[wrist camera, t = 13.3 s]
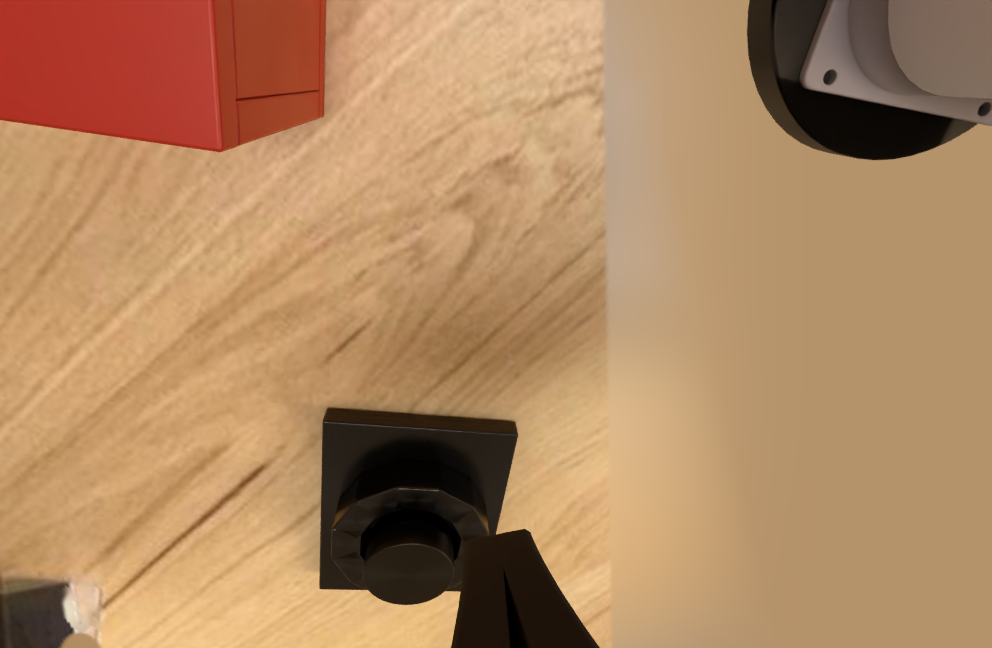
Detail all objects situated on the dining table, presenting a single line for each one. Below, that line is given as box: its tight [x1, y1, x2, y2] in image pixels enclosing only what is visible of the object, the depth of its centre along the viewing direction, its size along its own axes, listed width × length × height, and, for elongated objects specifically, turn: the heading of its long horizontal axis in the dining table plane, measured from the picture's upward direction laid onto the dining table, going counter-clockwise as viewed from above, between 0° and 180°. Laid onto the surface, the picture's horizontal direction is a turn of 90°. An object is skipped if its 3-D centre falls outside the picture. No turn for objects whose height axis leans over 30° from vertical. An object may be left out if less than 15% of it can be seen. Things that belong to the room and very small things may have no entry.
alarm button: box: [363, 510, 454, 605], centre depth 21 cm, size 4×4×2 cm
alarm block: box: [319, 409, 518, 591], centre depth 22 cm, size 8×10×2 cm
